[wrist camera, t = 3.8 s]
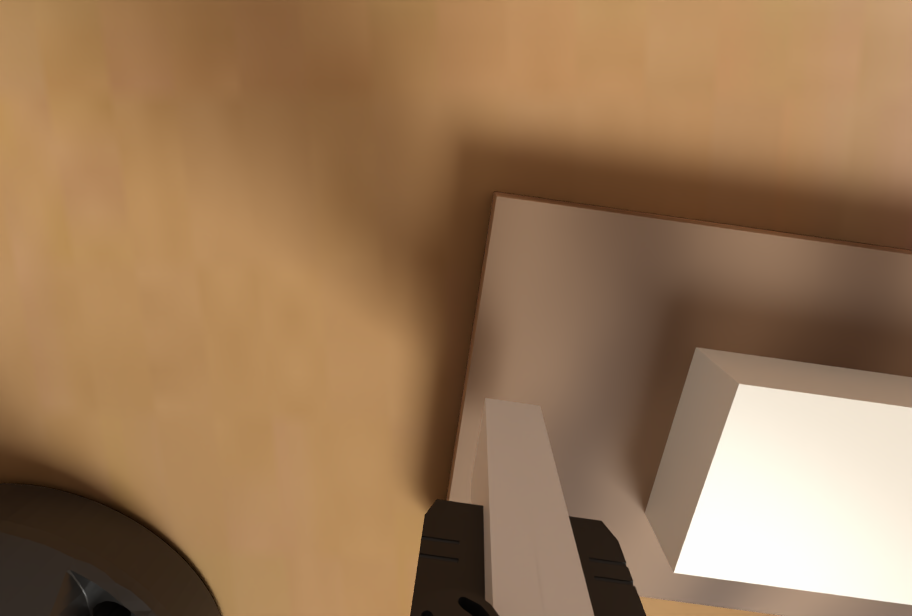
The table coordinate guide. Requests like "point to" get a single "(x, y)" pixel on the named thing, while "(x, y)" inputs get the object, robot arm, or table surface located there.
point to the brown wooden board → (661, 353)
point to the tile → (789, 477)
